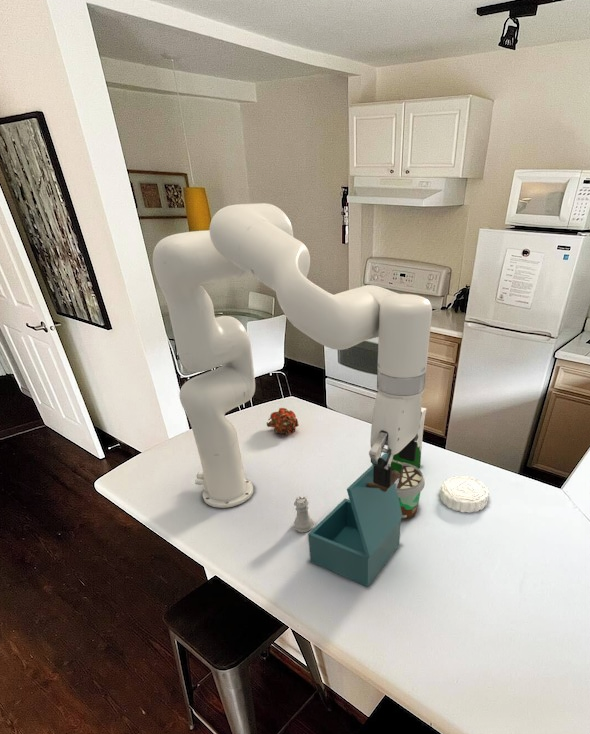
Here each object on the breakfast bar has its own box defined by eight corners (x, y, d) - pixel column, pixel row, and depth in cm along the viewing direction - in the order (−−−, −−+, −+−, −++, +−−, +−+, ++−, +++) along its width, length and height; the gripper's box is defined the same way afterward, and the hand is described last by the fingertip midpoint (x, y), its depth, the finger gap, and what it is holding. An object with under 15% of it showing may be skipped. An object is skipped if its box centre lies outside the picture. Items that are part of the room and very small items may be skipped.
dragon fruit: (294, 444, 138) (274, 435, 147) (309, 422, 140) (289, 415, 148) (276, 429, 132) (257, 420, 141) (292, 406, 134) (272, 399, 142)
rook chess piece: (294, 521, 105) (291, 494, 101) (313, 520, 106) (311, 493, 101) (293, 533, 102) (290, 506, 97) (313, 532, 102) (310, 505, 97)
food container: (419, 527, 103) (422, 493, 98) (393, 524, 104) (394, 489, 99) (424, 497, 113) (427, 464, 108) (400, 494, 114) (402, 461, 109)
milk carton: (382, 471, 123) (383, 405, 112) (398, 457, 130) (401, 392, 118) (409, 480, 119) (414, 413, 108) (424, 465, 126) (430, 400, 114)
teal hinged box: (310, 561, 94) (307, 534, 90) (345, 524, 104) (345, 498, 100) (367, 587, 88) (367, 558, 84) (399, 545, 99) (401, 518, 94)
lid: (346, 489, 77) (372, 491, 74) (384, 453, 88) (408, 453, 85) (366, 556, 84) (390, 561, 81) (399, 516, 94) (422, 518, 91)
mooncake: (467, 519, 106) (469, 507, 104) (430, 497, 113) (431, 485, 111) (497, 500, 113) (499, 488, 110) (460, 479, 120) (461, 468, 118)
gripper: (403, 359, 77) (397, 445, 87) (351, 394, 65) (351, 489, 75) (444, 368, 74) (433, 455, 84) (397, 406, 62) (391, 503, 72)
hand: (394, 471), depth 79 cm, fingers open, 9 cm apart
